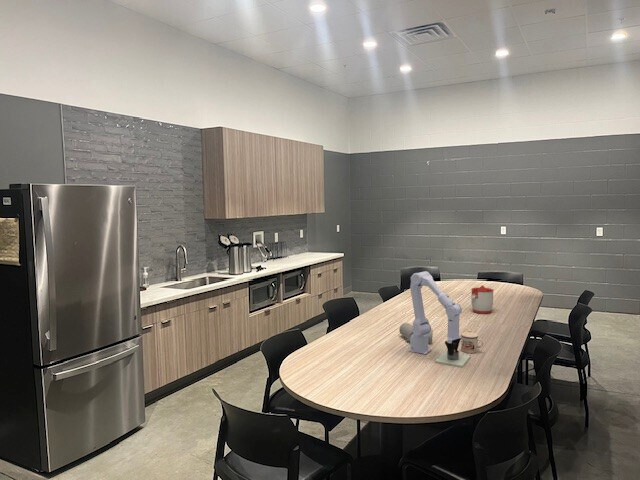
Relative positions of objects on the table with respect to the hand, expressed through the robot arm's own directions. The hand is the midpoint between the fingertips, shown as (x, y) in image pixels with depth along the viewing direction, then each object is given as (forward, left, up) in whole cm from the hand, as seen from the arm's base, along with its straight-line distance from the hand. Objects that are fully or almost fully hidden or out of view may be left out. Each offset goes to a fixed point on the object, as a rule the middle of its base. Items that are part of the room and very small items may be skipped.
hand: (453, 353), depth 246 cm
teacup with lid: (+5, +20, -4) cm, 21 cm away
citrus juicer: (-10, +111, -4) cm, 112 cm away
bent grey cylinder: (-29, +24, -4) cm, 38 cm away
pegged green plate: (0, 0, -4) cm, 4 cm away
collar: (0, 0, -3) cm, 3 cm away
